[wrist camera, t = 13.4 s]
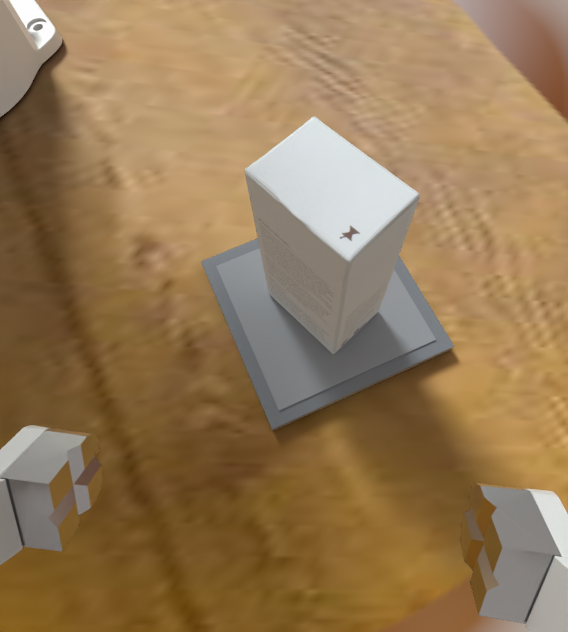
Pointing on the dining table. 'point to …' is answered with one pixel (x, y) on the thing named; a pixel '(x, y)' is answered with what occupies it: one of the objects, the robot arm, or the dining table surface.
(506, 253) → the dining table surface
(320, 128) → the skincare box
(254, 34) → the dining table surface
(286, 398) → the plate
